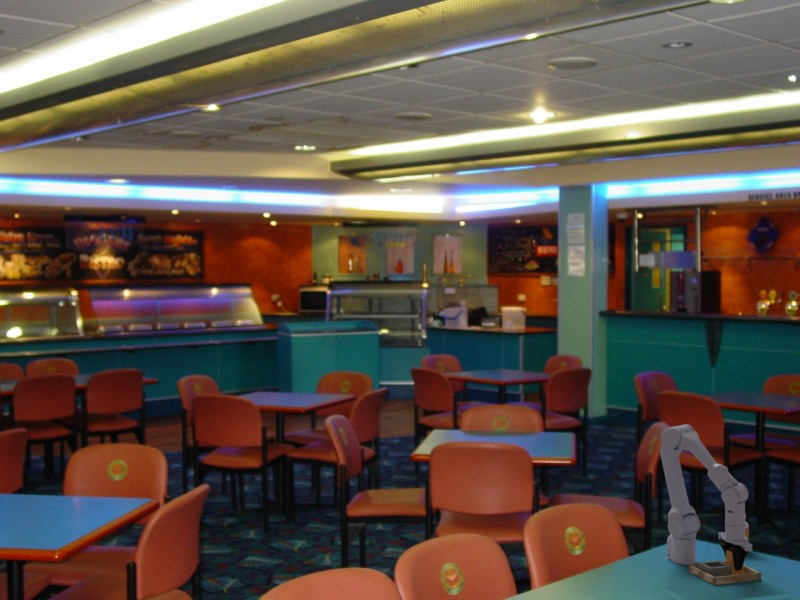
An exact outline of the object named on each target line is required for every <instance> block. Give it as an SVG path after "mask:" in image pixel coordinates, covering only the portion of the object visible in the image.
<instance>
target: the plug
mask: <svg viewBox="0 0 800 600" xmlns="http://www.w3.org/2000/svg"><path fill="white" fill-rule="evenodd" d="M725 561H726V564H728V565H730V566H732V575H739V574H743V567H742V570H737V571H736V570H735V569H734V560H733V555H732V552H731V549H729V550H726V557H725Z"/></svg>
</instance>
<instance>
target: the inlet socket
mask: <svg viewBox="0 0 800 600" xmlns="http://www.w3.org/2000/svg"><path fill="white" fill-rule="evenodd" d="M721 561H722V560H710V561H702V562H701V561H700V562H697V564H698V569H700V570H702V571H704V572H706V573H708V574H710V575H712V576H714V577H720V576H729V575H732V566H730V565H728V564H726V563H724V562H721Z"/></svg>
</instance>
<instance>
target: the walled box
mask: <svg viewBox="0 0 800 600" xmlns="http://www.w3.org/2000/svg"><path fill="white" fill-rule="evenodd" d="M720 561H721V562H724V563H726V560H720ZM687 572H689V573H691V574H693V575H694V576H697V577H698V578H700V579H702V580H704V581H706V582H708V583H710V584H711V585H714V586H716V585H717V586H718V585H726V584H727V585H728V584H734V583H735V584H736V583H743V582H745V583H746V582H754V581H761V580H762V573H761V572H760V571H757V570H755V569H753V568H751V567H750V566H747V565H745V564H743V574H739V575H729V576H720V577H714V576H712V575H710V574H708V573H706V572H704V571H702V570H700V569H698V563H694V564H689V565H687Z"/></svg>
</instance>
